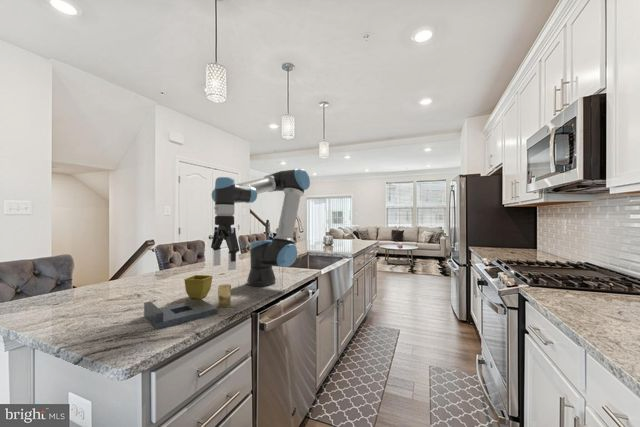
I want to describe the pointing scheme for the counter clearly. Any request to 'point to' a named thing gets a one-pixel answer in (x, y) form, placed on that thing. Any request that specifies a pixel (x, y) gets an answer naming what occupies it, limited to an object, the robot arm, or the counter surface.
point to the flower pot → (198, 286)
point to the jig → (177, 313)
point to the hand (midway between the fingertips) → (224, 267)
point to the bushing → (224, 295)
